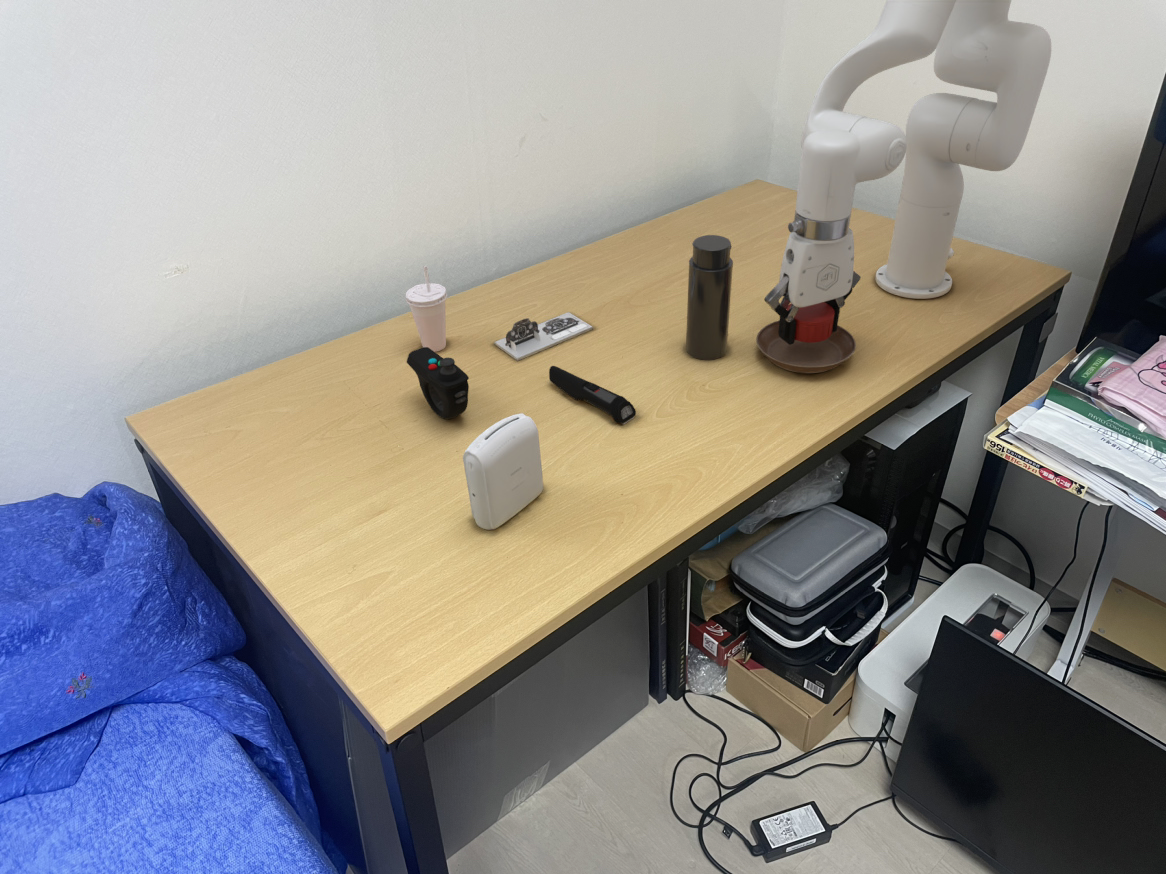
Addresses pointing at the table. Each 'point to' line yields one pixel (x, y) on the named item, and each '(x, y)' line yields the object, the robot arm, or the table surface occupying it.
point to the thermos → (709, 297)
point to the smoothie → (429, 312)
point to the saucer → (805, 350)
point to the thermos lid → (814, 322)
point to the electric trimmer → (593, 395)
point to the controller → (440, 382)
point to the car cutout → (540, 335)
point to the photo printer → (503, 470)
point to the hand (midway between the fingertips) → (807, 333)
